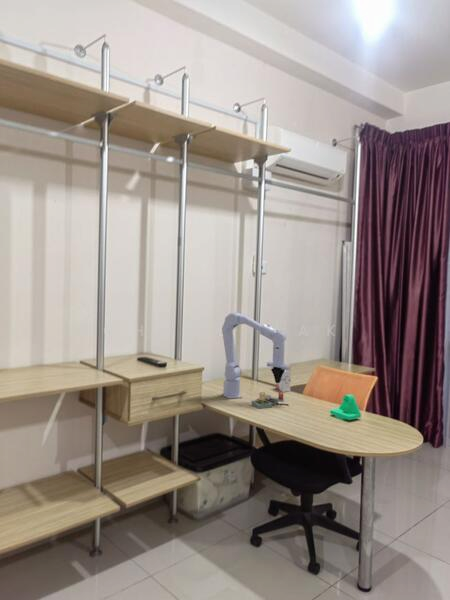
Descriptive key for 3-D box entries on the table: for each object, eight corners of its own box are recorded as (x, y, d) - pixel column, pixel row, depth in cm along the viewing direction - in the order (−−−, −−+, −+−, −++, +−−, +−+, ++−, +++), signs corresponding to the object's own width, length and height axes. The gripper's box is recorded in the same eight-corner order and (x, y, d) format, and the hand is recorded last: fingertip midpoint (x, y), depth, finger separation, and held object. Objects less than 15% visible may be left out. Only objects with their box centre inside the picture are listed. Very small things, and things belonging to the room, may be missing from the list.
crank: (262, 400, 242) (262, 391, 242) (264, 398, 246) (264, 390, 246) (282, 402, 239) (283, 394, 239) (284, 400, 243) (284, 392, 243)
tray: (251, 404, 239) (252, 400, 239) (264, 403, 242) (265, 399, 241) (258, 408, 232) (258, 404, 232) (271, 407, 235) (271, 403, 235)
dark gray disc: (252, 400, 246) (252, 398, 246) (271, 398, 251) (271, 396, 251) (262, 406, 236) (262, 404, 236) (281, 404, 241) (282, 402, 241)
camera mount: (329, 415, 224) (330, 393, 224) (340, 413, 228) (341, 391, 228) (348, 422, 214) (349, 399, 214) (360, 419, 218) (361, 397, 218)
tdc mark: (280, 404, 240) (280, 403, 240) (280, 403, 241) (280, 403, 241) (288, 405, 239) (288, 404, 239) (288, 404, 240) (288, 404, 240)
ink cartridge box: (275, 388, 274) (276, 362, 273) (283, 387, 276) (283, 362, 275) (282, 392, 266) (283, 365, 265) (290, 391, 268) (291, 365, 267)
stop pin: (258, 404, 238) (259, 392, 238) (264, 404, 238) (264, 392, 238) (259, 405, 235) (260, 393, 235) (265, 405, 236) (265, 393, 235)
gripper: (262, 354, 247) (262, 380, 248) (283, 358, 236) (282, 386, 237) (272, 353, 251) (271, 379, 252) (293, 357, 240) (292, 384, 241)
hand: (277, 382), depth 245 cm, fingers closed
